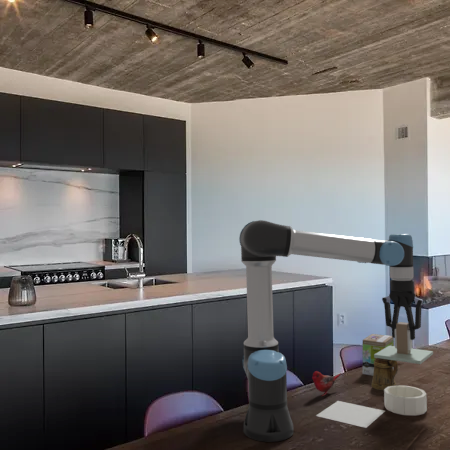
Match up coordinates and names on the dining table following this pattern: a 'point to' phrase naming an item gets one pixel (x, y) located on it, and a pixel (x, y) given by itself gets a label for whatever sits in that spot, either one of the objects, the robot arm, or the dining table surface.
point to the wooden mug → (384, 373)
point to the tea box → (374, 350)
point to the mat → (351, 414)
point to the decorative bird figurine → (323, 381)
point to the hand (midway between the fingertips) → (403, 348)
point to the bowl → (405, 400)
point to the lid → (403, 348)
